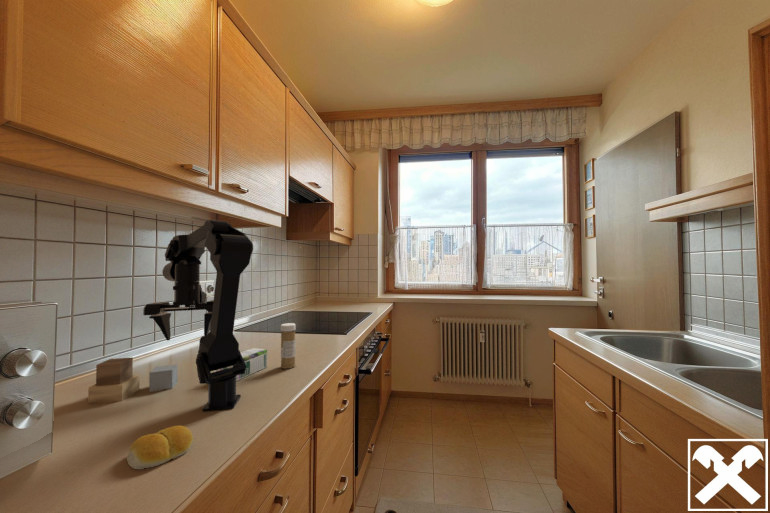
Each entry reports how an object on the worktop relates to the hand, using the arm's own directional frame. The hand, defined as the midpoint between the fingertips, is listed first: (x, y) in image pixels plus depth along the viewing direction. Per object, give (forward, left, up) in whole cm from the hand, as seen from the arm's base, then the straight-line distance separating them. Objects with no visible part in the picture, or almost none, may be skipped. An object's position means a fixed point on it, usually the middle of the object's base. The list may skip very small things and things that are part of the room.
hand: (187, 338), depth 84 cm
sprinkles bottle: (+9, -25, -13) cm, 30 cm away
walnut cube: (-5, +15, -9) cm, 17 cm away
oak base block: (-4, +15, -13) cm, 20 cm away
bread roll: (-34, -9, -13) cm, 37 cm away
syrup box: (+11, -17, -10) cm, 22 cm away
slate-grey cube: (0, +6, -12) cm, 14 cm away
